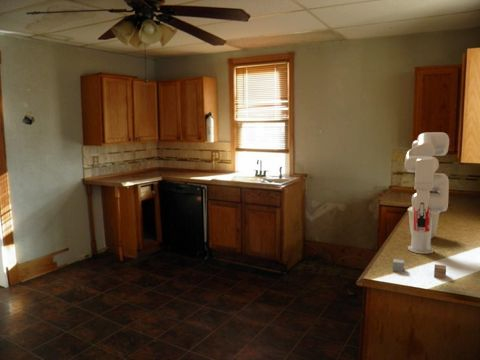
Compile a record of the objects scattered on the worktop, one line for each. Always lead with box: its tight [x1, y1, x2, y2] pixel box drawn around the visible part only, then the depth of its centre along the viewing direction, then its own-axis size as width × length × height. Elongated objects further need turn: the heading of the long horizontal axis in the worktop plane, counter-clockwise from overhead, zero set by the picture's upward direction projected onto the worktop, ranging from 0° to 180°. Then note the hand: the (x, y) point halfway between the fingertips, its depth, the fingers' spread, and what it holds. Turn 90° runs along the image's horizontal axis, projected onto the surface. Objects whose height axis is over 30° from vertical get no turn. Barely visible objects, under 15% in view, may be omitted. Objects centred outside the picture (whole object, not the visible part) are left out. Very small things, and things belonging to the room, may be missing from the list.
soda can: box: [413, 205, 431, 233], centre depth 182 cm, size 7×7×12 cm
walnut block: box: [433, 263, 447, 280], centre depth 181 cm, size 5×5×5 cm
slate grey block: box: [392, 258, 405, 274], centre depth 189 cm, size 5×5×5 cm
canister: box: [407, 206, 441, 239], centre depth 242 cm, size 18×18×21 cm
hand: (421, 224), depth 182 cm, fingers closed on soda can, 7 cm apart
